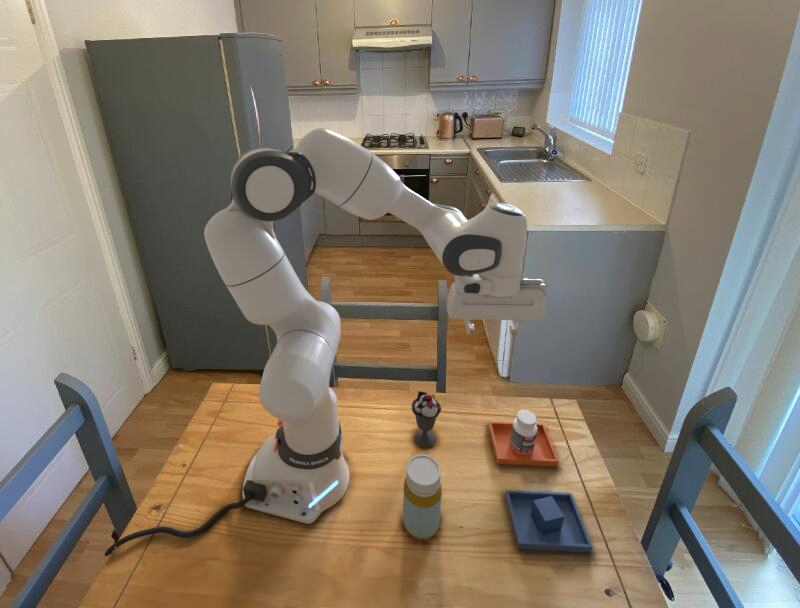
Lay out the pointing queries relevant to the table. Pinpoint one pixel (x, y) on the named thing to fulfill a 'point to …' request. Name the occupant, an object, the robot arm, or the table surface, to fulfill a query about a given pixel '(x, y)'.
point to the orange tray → (507, 455)
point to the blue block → (547, 515)
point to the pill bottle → (523, 433)
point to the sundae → (425, 418)
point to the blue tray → (529, 533)
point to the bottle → (422, 497)
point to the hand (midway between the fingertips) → (491, 333)
